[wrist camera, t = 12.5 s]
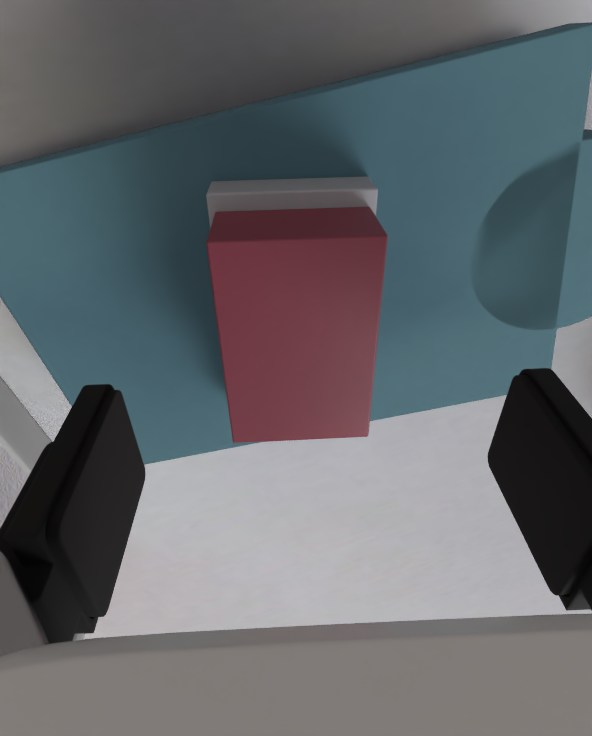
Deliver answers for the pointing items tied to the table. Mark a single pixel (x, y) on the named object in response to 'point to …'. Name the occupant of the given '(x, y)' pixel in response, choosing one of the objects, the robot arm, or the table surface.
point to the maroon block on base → (297, 304)
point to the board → (321, 160)
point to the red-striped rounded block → (17, 451)
